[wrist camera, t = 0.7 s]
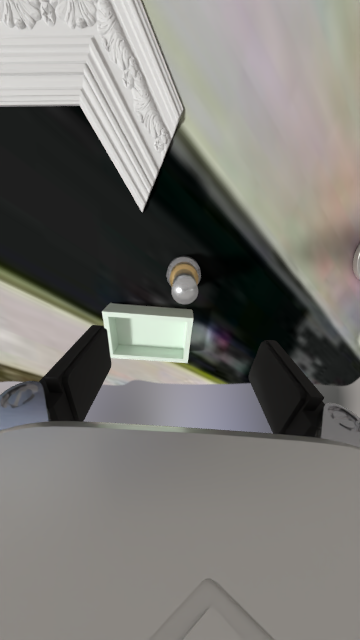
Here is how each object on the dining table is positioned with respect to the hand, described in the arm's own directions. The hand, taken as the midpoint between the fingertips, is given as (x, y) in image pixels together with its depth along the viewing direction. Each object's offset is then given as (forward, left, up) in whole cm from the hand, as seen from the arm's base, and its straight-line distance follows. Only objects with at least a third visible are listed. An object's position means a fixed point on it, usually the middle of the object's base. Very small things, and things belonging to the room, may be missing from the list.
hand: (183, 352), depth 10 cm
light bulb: (0, 0, -22) cm, 22 cm away
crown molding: (+14, -23, -25) cm, 36 cm away
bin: (+6, +13, -24) cm, 28 cm away
